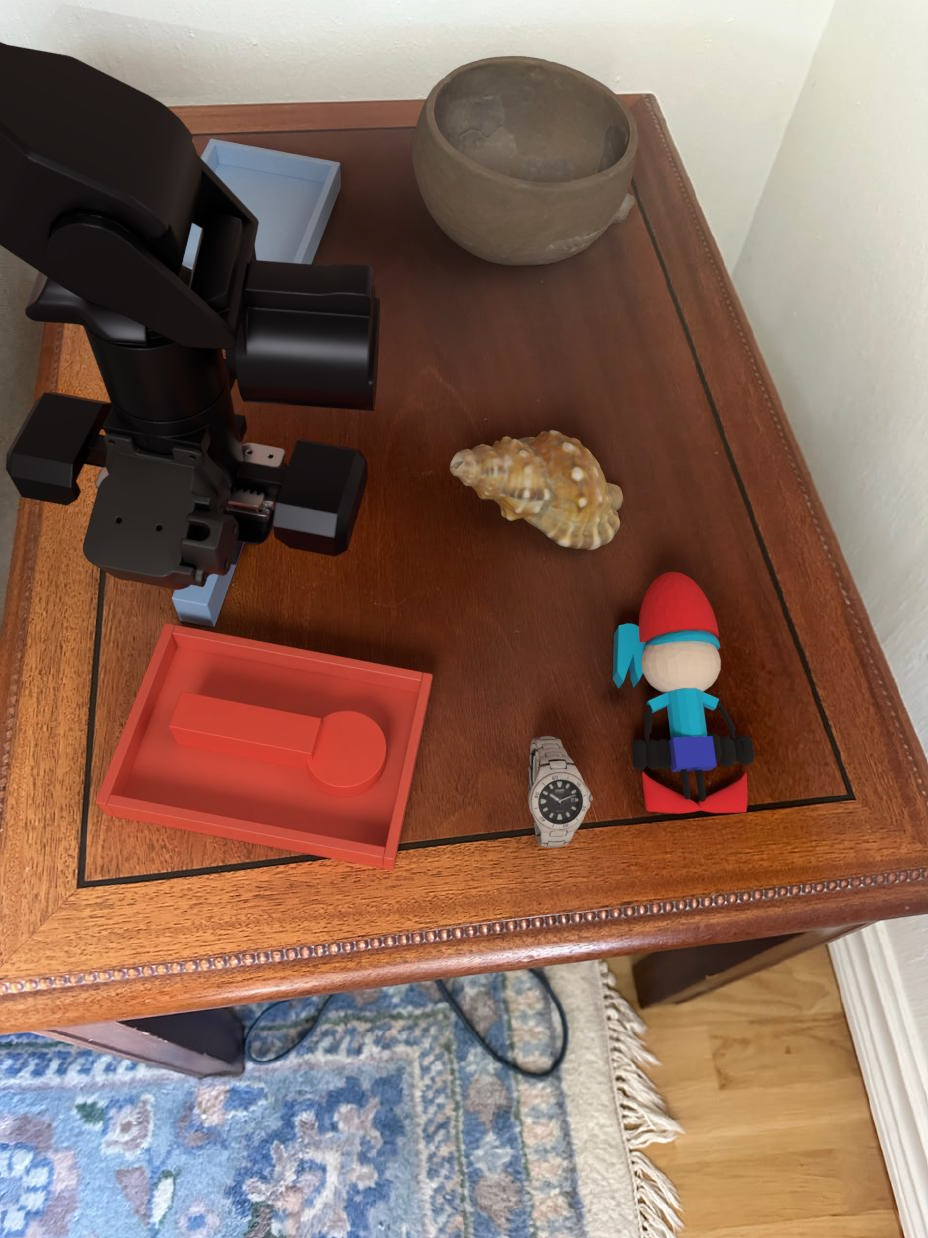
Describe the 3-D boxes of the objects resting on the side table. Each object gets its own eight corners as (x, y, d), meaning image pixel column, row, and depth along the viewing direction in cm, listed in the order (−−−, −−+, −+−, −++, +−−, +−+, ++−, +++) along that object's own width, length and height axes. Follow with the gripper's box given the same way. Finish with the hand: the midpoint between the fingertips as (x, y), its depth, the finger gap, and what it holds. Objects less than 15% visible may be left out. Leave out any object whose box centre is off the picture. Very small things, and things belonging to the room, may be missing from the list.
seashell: (524, 598, 63) (465, 517, 55) (493, 517, 68) (434, 432, 60) (645, 537, 61) (602, 445, 53) (604, 458, 66) (559, 363, 58)
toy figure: (749, 815, 55) (715, 585, 60) (777, 804, 50) (737, 556, 55) (625, 821, 54) (601, 590, 59) (641, 810, 50) (614, 560, 55)
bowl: (654, 234, 79) (689, 123, 70) (520, 330, 71) (540, 220, 63) (508, 139, 83) (524, 24, 75) (368, 220, 76) (368, 103, 68)
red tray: (106, 815, 50) (94, 802, 48) (172, 640, 55) (165, 622, 53) (393, 870, 50) (394, 860, 48) (430, 690, 55) (433, 673, 53)
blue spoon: (233, 631, 56) (226, 609, 54) (160, 617, 56) (151, 594, 54) (284, 483, 62) (280, 456, 60) (218, 470, 62) (212, 443, 60)
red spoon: (170, 764, 51) (160, 746, 49) (196, 692, 53) (187, 671, 51) (376, 804, 51) (376, 788, 49) (393, 730, 53) (394, 711, 51)
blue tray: (292, 314, 70) (289, 290, 68) (151, 287, 70) (144, 263, 68) (341, 186, 78) (340, 162, 76) (214, 163, 78) (210, 137, 76)
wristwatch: (522, 855, 51) (536, 830, 46) (511, 752, 54) (523, 719, 49) (583, 853, 51) (602, 827, 47) (569, 750, 54) (586, 717, 50)
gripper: (-101, 469, 40) (20, 636, 53) (313, 548, 40) (329, 695, 53) (5, 299, 45) (90, 490, 59) (369, 367, 45) (370, 543, 59)
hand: (215, 555), depth 57 cm, fingers closed on blue spoon, 2 cm apart
